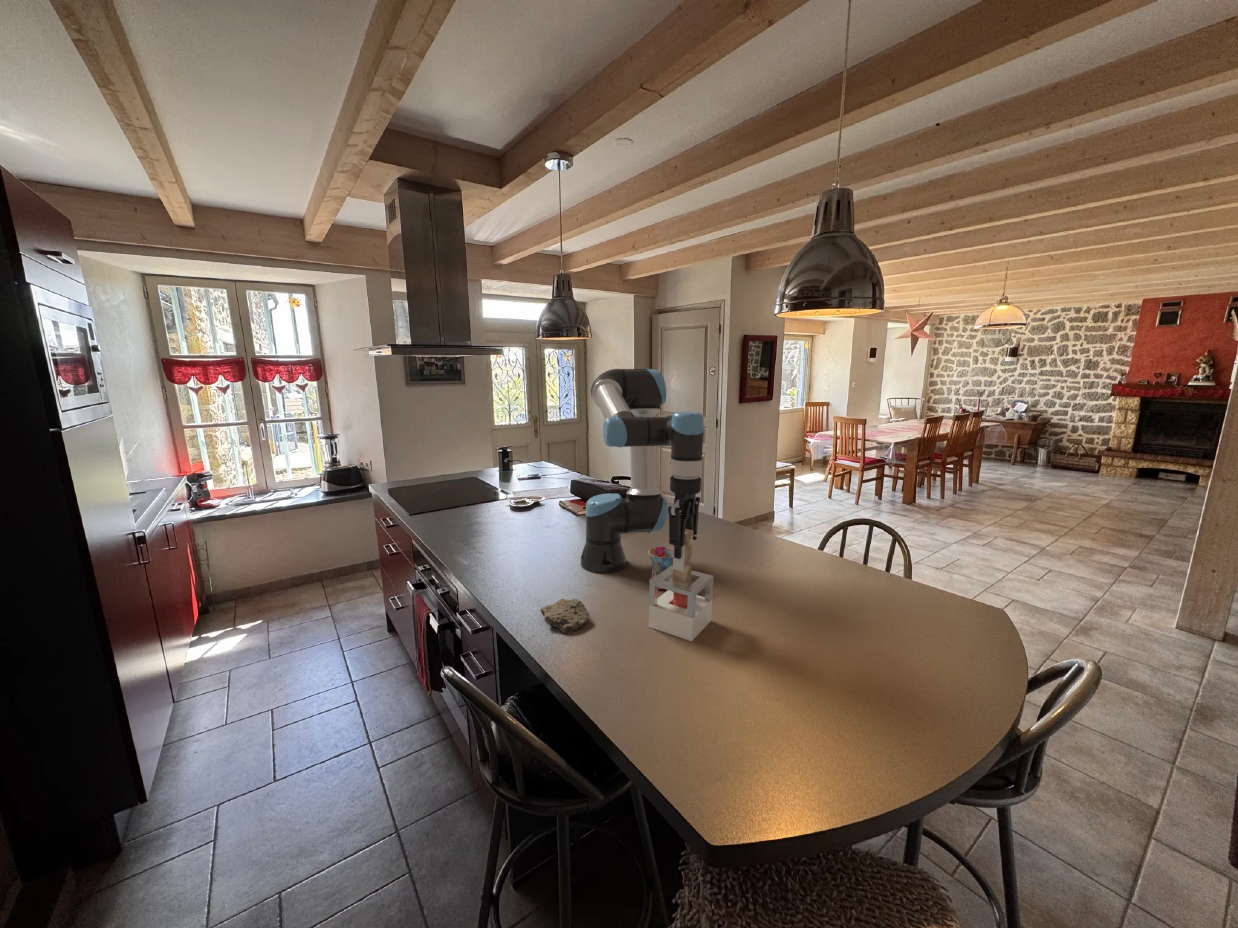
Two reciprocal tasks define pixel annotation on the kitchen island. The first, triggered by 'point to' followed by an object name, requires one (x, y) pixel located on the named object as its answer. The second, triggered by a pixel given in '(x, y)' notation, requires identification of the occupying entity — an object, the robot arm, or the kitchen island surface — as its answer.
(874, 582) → the kitchen island surface
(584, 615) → the rock
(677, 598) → the red dome button
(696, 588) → the frame
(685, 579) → the tall wooden block
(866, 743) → the kitchen island surface
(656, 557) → the mug
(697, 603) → the box
